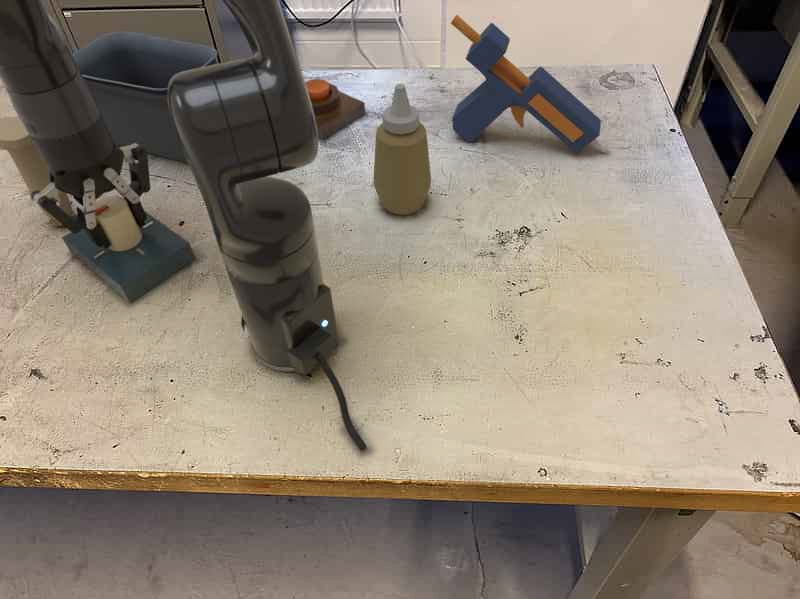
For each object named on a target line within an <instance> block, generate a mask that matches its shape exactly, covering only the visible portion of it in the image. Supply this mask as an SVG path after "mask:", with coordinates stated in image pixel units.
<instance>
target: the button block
mask: <svg viewBox="0 0 800 599" xmlns="http://www.w3.org/2000/svg"><path fill="white" fill-rule="evenodd" d="M328 83H329V88H330V97H329V98H327V99H325V100H322V101H317V102H316V101H311V104H312V108H313V112H314V116H315V121H316V126H317V133H318V139H321V140H322V141H325V140H327V139H329V138H330V137H332V136H333V135H334V134H336V133H338V132H340V131H341V130H342V129H344V128H346V127H347V126H349V125H350V124H352V123H354V122H355V121H357V120H358V119H359V118H361V117H362V116H364V115H366V104H365V102H364V101H363V100H360V99H357V98H356V97H353V96H351V95H348V94H346V93H344V92H342V91H340V90H339V89H338V87H337V85H334V84H332V83H330V82H328Z"/></svg>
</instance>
